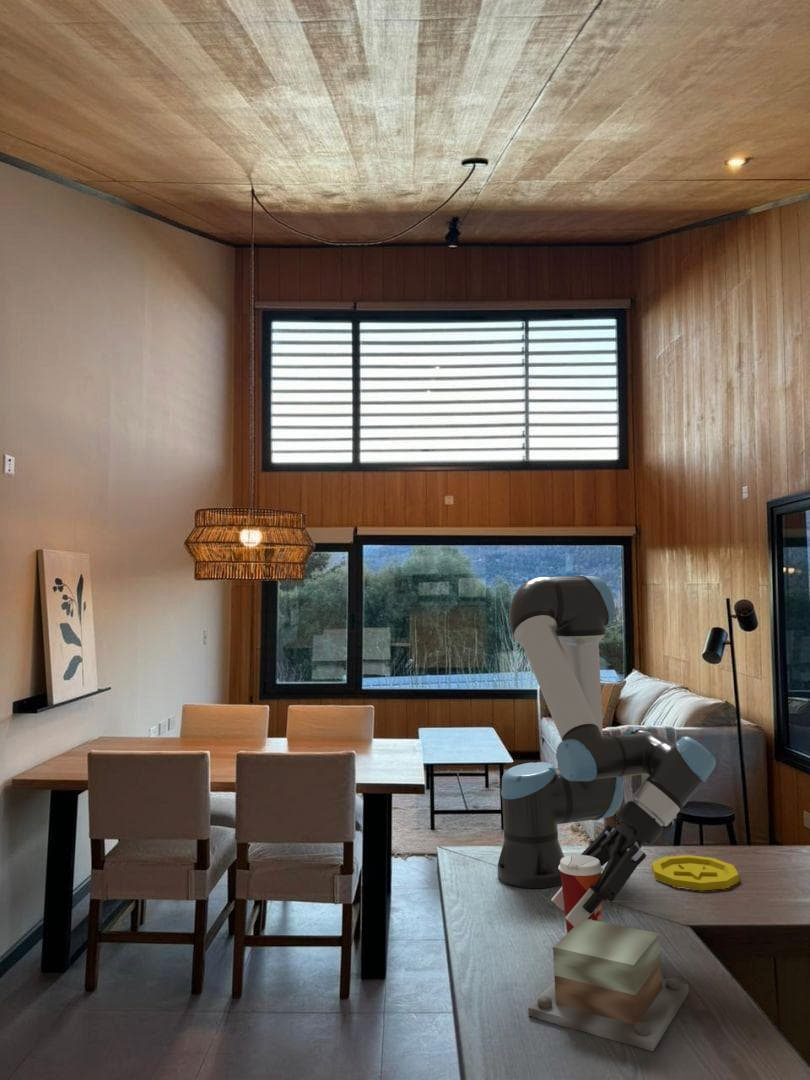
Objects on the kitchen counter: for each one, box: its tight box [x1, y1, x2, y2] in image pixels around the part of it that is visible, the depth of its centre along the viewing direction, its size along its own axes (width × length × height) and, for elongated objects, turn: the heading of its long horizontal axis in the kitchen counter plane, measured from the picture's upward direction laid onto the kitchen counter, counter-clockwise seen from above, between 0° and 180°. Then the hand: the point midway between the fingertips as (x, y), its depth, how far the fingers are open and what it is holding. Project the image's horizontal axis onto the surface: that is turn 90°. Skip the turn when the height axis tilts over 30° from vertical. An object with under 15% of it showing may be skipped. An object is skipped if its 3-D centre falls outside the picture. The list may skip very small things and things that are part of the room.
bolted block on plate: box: [527, 918, 690, 1052], centre depth 118 cm, size 18×18×9 cm
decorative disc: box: [651, 854, 740, 891], centre depth 169 cm, size 17×18×2 cm
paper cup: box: [558, 854, 604, 934], centre depth 140 cm, size 8×8×14 cm
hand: (564, 914), depth 139 cm, fingers closed on paper cup, 8 cm apart
